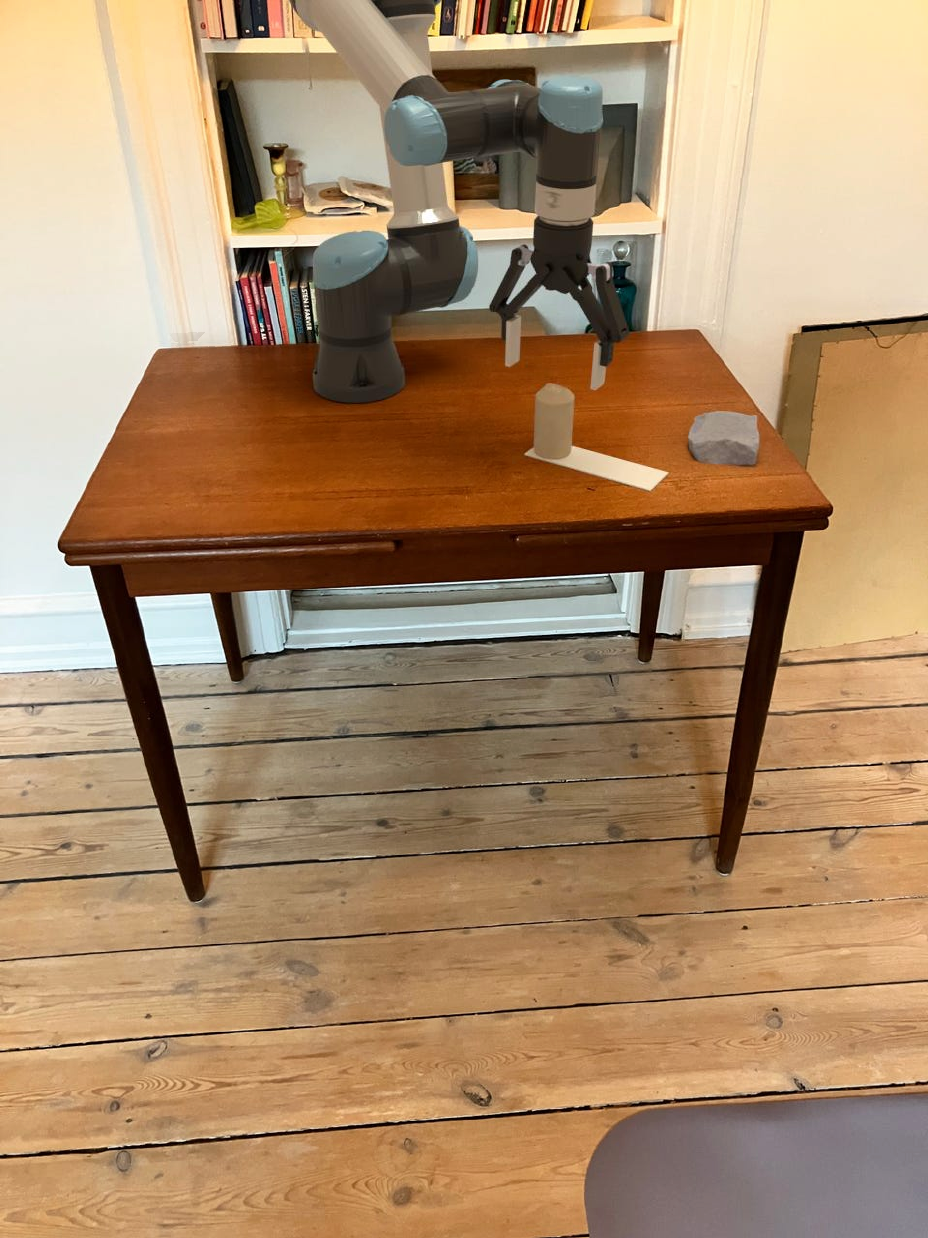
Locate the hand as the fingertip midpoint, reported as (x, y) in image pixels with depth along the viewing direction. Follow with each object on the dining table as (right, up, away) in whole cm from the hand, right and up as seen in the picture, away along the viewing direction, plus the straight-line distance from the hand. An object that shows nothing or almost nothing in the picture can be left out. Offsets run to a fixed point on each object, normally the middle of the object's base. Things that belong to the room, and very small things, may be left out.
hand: (553, 374), depth 139 cm
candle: (0, -10, +7) cm, 12 cm away
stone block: (+25, -9, +8) cm, 28 cm away
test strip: (+6, -12, +4) cm, 14 cm away
